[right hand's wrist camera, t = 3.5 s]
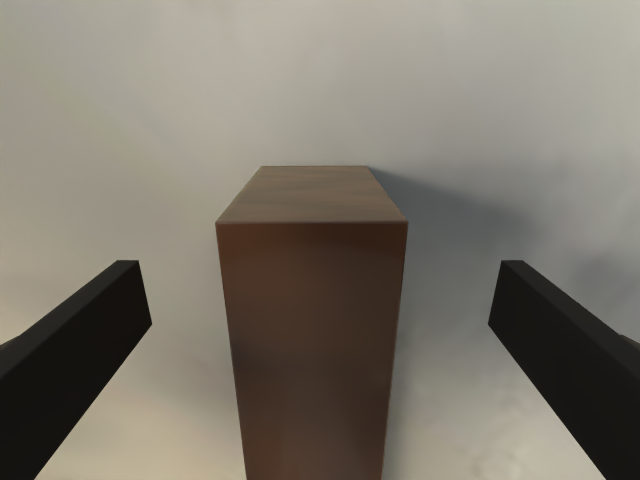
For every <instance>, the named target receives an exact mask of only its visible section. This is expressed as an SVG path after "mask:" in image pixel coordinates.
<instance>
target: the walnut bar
mask: <svg viewBox="0 0 640 480" xmlns="http://www.w3.org/2000/svg"><path fill="white" fill-rule="evenodd" d="M215 226H216V234H217V242H218V250H219V259H220V267H221V275H222V283H223V291H224V299H225V307H226V316H227V324H228V332H229V340H230V348H231V356H232V364H233V373H234V381H235V389H236V397H237V405H238V413H239V421H240V430H241V438H242V446H243V454H244V462H245V470H246V478H247V480H382V473H383V463H384V454H385V444H386V434H387V425H388V415H389V406H390V396H391V386H392V377H393V367H394V357H395V348H396V338H397V328H398V319H399V309H400V299H401V290H402V280H403V270H404V261H405V251H406V241H407V232H408V221H407V219H406V218H405V217H404V215H403V214H402V213H401V211H400V210H399V209H398V207H397V206H396V205H395V203H394V202H393V201H392V199H391V198H390V197H389V196H388V194H387V193H386V192H385V190H384V189H383V188H382V186H381V185H380V184H379V182H378V181H377V180H376V178H375V177H374V176H373V174H372V173H371V172H370V170H369V169H368V168H367V167H366V166H262V167H261V168H260V169H259V170H258V171H257V172H256V174H255V175H254V176H253V177H252V178H251V180H250V181H249V182H248V183H247V184H246V186H245V187H244V188H243V189H242V191H241V192H240V193H239V194H238V195H237V197H236V198H235V199H234V200H233V201H232V203H231V204H230V205H229V206H228V207H227V209H226V210H225V211H224V212H223V214H222V215H221V216H220V217H219V218H218V220H217V221H216V223H215Z"/></svg>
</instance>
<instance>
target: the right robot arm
mask: <svg viewBox="0 0 640 480" xmlns="http://www.w3.org/2000/svg"><path fill="white" fill-rule="evenodd" d="M151 325H152V321H151V316H150V312H149V307H148V302H147V298H146V293H145V288H144V284H143V279H142V275H141V270H140V265H139V261H138V260H117V261H116V262H114V263H113V264H112V265H111V266H109V267H108V268H107V269H105V270H104V271H103V272H101V273H100V274H99V275H98V276H96V277H95V278H94V279H92V280H91V281H90V282H88V283H87V284H86V285H85V286H83V287H82V288H81V289H79V290H78V291H77V292H75V293H74V294H73V295H72V296H70V297H69V298H68V299H66V300H65V301H64V302H63V303H61V304H60V305H59V306H57V307H56V308H55V309H53V310H52V311H51V312H50V313H48V314H47V315H46V316H44V317H43V318H42V319H40V320H39V321H38V322H37V323H35V324H34V325H33V326H31V327H30V328H29V329H27V330H26V331H25V332H24V333H22V334H21V335H20V336H17V337H15V338H13V339H11V340H10V341H8V342H6V343H4V344H2V345H0V480H34V479H35V478H36V476H37V475H38V474H39V472H40V471H41V470H42V468H43V467H44V466H45V464H46V463H47V462H48V460H49V459H50V458H51V457H52V455H53V454H54V453H55V451H56V450H57V449H58V447H59V446H60V445H61V443H62V442H63V441H64V439H65V438H66V437H67V436H68V434H69V433H70V432H71V430H72V429H73V428H74V426H75V425H76V424H77V422H78V421H79V420H80V418H81V417H82V416H83V415H84V413H85V412H86V411H87V409H88V408H89V407H90V405H91V404H92V403H93V401H94V400H95V399H96V397H97V396H98V395H99V394H100V392H101V391H102V390H103V388H104V387H105V386H106V384H107V383H108V382H109V380H110V379H111V378H112V376H113V375H114V374H115V373H116V371H117V370H118V369H119V367H120V366H121V365H122V363H123V362H124V361H125V359H126V358H127V357H128V355H129V354H130V353H131V351H132V350H133V349H134V348H135V346H136V345H137V344H138V342H139V341H140V340H141V338H142V337H143V336H144V334H145V333H146V332H147V330H148V329H149V328H150V327H151ZM488 325H489V327H490V328H491V329H492V330H493V332H494V333H495V334H496V336H497V337H498V338H499V340H500V341H501V342H502V344H503V345H504V346H505V348H506V349H507V350H508V352H509V353H510V354H511V355H512V357H513V358H514V359H515V361H516V362H517V363H518V365H519V366H520V367H521V369H522V370H523V371H524V373H525V374H526V375H527V376H528V378H529V379H530V380H531V382H532V383H533V384H534V386H535V387H536V388H537V390H538V391H539V392H540V394H541V395H542V396H543V397H544V399H545V400H546V401H547V403H548V404H549V405H550V407H551V408H552V409H553V411H554V412H555V413H556V415H557V416H558V417H559V418H560V420H561V421H562V422H563V424H564V425H565V426H566V428H567V429H568V430H569V432H570V433H571V434H572V436H573V437H574V438H575V439H576V441H577V442H578V443H579V445H580V446H581V447H582V449H583V450H584V451H585V453H586V454H587V455H588V457H589V458H590V459H591V460H592V462H593V463H594V464H595V466H596V467H597V468H598V470H599V471H600V472H601V474H602V475H603V476H604V478H605V479H606V480H640V344H639V343H637V342H635V341H633V340H631V339H629V338H628V337H626V336H624V335H619V334H618V333H616V332H615V331H614V330H613V329H611V328H610V327H609V326H607V325H606V324H605V323H603V322H602V321H601V320H600V319H598V318H597V317H596V316H594V315H593V314H592V313H590V312H589V311H588V310H587V309H585V308H584V307H583V306H581V305H580V304H579V303H577V302H576V301H575V300H574V299H572V298H571V297H570V296H568V295H567V294H566V293H565V292H563V291H562V290H561V289H559V288H558V287H557V286H555V285H554V284H553V283H552V282H550V281H549V280H548V279H546V278H545V277H544V276H542V275H541V274H540V273H539V272H537V271H536V270H535V269H533V268H532V267H531V266H529V265H528V264H527V263H526V262H524V261H523V260H502V261H501V265H500V270H499V275H498V279H497V284H496V288H495V293H494V298H493V302H492V307H491V312H490V316H489V321H488Z"/></svg>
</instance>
